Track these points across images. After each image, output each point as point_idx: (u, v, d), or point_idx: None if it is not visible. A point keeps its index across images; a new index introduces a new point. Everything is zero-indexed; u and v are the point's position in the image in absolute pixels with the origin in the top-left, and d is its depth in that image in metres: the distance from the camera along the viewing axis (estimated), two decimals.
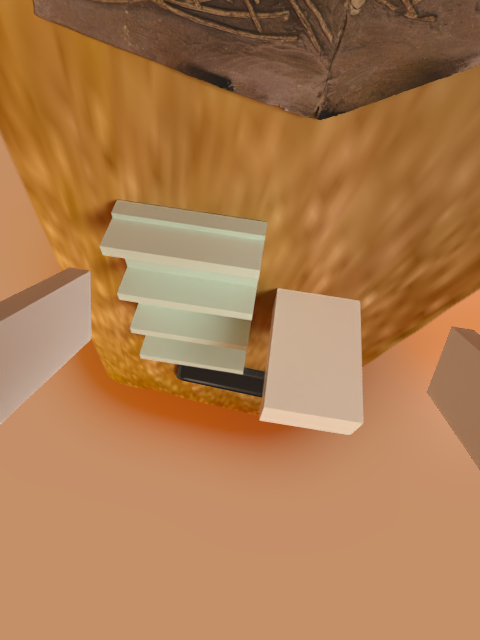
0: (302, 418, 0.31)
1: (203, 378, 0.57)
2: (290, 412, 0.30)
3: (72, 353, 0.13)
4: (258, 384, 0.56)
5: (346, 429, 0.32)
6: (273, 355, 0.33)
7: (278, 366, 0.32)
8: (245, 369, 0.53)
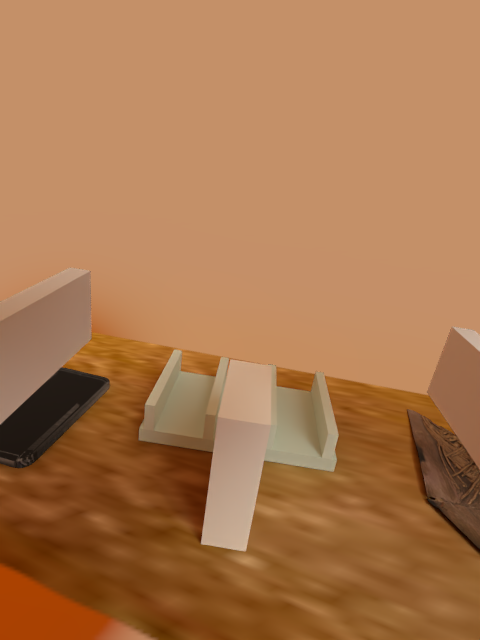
0: (256, 384, 0.29)
1: (52, 387, 0.44)
2: (270, 379, 0.30)
3: (72, 353, 0.13)
4: (16, 434, 0.37)
5: (239, 413, 0.25)
6: None
7: None
8: (65, 428, 0.39)
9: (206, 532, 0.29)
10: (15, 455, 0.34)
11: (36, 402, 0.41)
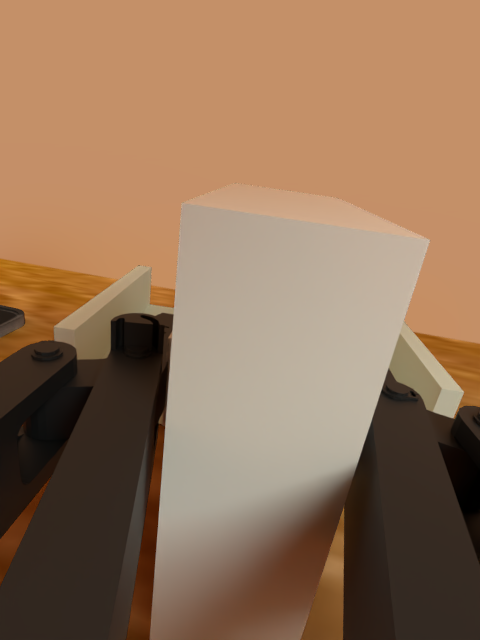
0: (314, 201, 0.10)
1: None
2: (348, 203, 0.11)
3: None
4: None
5: (275, 210, 0.06)
6: None
7: None
8: None
9: None
10: None
11: None
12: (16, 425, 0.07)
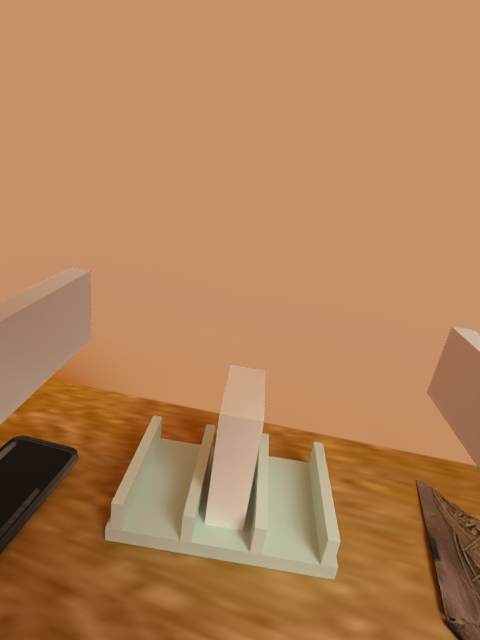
0: (252, 386, 0.34)
1: (10, 465, 0.38)
2: (264, 381, 0.35)
3: (72, 353, 0.13)
4: None
5: (237, 411, 0.30)
6: None
7: None
8: (20, 526, 0.33)
9: (209, 513, 0.34)
10: None
11: None
12: None
